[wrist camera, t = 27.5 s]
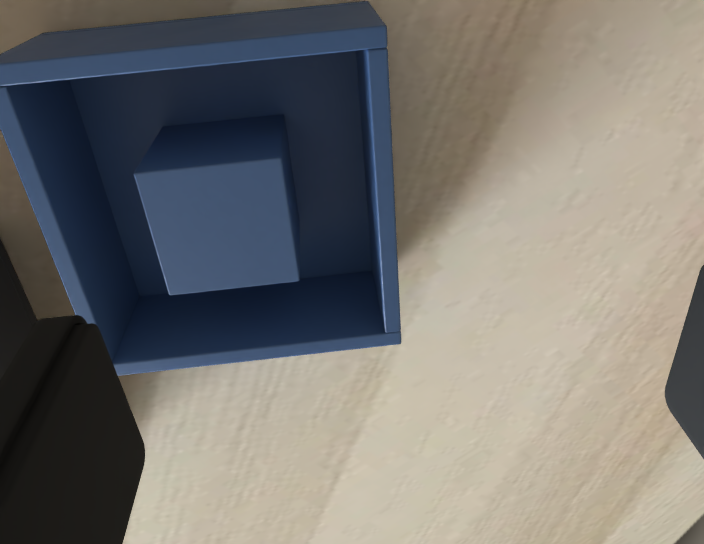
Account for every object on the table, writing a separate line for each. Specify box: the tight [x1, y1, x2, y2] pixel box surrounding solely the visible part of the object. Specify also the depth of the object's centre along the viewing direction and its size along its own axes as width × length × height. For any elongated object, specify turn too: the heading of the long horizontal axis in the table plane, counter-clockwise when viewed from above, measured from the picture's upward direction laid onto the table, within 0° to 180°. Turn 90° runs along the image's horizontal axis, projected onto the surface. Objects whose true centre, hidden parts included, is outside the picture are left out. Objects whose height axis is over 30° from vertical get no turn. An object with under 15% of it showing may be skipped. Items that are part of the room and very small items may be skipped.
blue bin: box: [0, 1, 401, 376], centre depth 21 cm, size 11×11×5 cm
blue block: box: [134, 114, 300, 295], centre depth 21 cm, size 4×4×4 cm
